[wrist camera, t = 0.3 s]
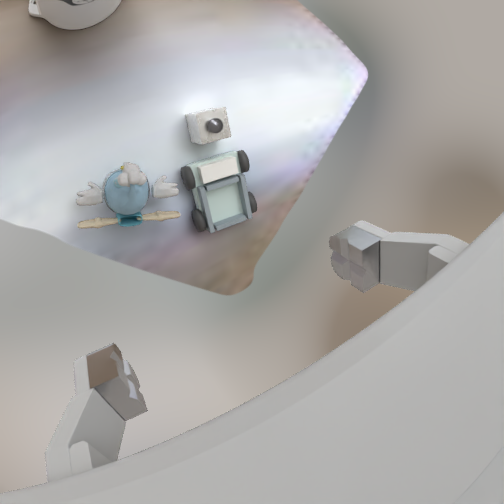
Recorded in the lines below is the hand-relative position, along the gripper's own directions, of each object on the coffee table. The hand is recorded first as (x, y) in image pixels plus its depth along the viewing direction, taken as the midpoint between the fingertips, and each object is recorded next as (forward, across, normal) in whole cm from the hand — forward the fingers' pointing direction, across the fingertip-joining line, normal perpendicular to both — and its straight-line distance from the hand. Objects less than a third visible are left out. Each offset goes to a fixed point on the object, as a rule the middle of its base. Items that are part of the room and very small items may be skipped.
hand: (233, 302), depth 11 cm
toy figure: (+46, +1, +5) cm, 47 cm away
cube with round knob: (+46, -15, 0) cm, 49 cm away
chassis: (+46, -14, +12) cm, 50 cm away
